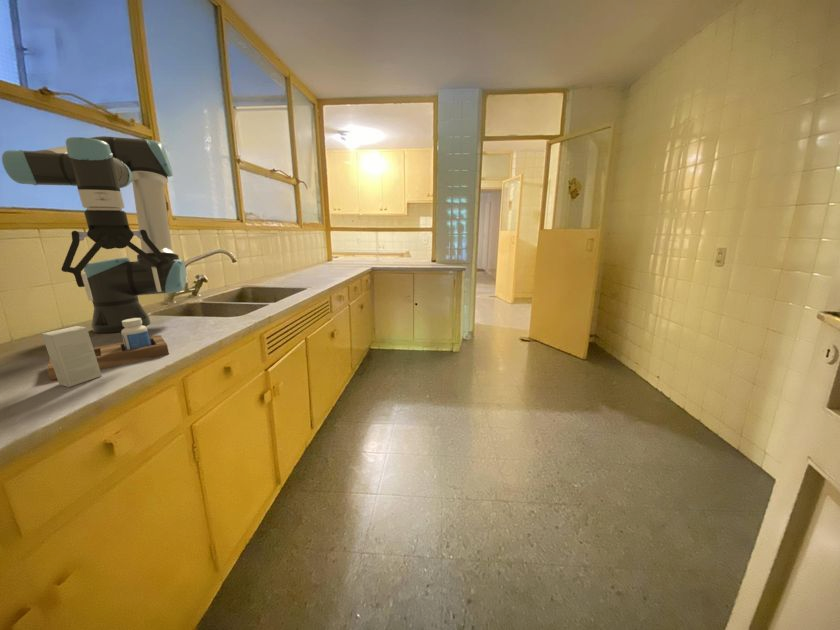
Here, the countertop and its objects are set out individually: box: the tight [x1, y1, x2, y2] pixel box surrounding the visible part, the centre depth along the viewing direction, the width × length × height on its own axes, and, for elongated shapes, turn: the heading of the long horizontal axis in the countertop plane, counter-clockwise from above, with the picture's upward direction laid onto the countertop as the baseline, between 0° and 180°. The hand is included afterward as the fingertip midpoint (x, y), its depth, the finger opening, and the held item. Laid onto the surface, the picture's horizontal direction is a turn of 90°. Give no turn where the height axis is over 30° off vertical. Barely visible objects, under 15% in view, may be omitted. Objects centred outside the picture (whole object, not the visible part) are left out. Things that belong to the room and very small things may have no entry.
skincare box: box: [41, 325, 102, 388], centre depth 74 cm, size 6×4×12 cm
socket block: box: [46, 335, 170, 381], centre depth 86 cm, size 11×22×3 cm, turn 134°
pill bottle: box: [120, 318, 151, 350], centre depth 89 cm, size 6×5×10 cm
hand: (126, 295), depth 86 cm, fingers open, 13 cm apart
